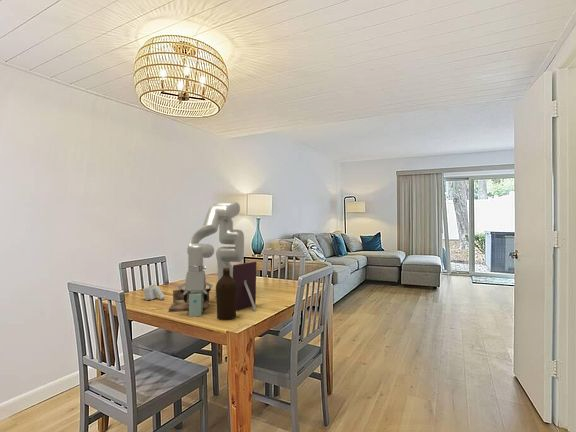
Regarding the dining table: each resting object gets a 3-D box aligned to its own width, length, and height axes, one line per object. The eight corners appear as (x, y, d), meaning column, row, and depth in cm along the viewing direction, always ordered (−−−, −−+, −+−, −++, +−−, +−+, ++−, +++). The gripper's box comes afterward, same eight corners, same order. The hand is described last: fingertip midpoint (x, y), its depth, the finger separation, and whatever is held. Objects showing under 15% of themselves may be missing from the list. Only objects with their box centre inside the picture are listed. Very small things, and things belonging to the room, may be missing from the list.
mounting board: (209, 303, 189) (209, 288, 189) (206, 310, 175) (206, 294, 175) (173, 304, 186) (173, 290, 186) (168, 311, 172) (168, 296, 172)
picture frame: (254, 304, 185) (254, 261, 185) (266, 307, 179) (266, 262, 179) (231, 311, 173) (231, 264, 172) (244, 315, 166) (244, 266, 166)
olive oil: (239, 318, 160) (239, 268, 160) (218, 321, 156) (218, 270, 156) (234, 312, 170) (234, 265, 170) (214, 315, 166) (213, 267, 166)
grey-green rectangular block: (202, 311, 173) (202, 290, 173) (201, 316, 164) (200, 294, 164) (191, 311, 172) (191, 291, 172) (188, 317, 163) (188, 295, 163)
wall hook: (161, 300, 192) (157, 284, 193) (146, 303, 194) (142, 287, 195) (169, 297, 200) (165, 281, 201) (154, 300, 202) (151, 284, 203)
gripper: (213, 267, 173) (212, 299, 173) (179, 268, 171) (179, 300, 170) (212, 269, 166) (211, 302, 166) (177, 270, 163) (176, 304, 163)
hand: (195, 301), depth 168 cm, fingers open, 9 cm apart
